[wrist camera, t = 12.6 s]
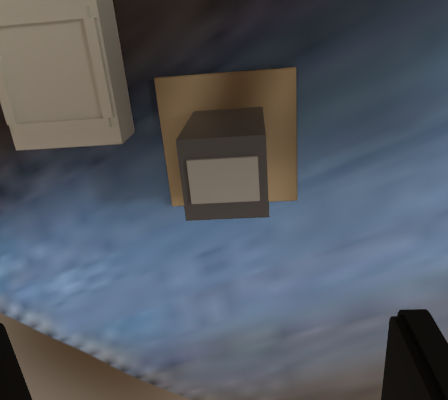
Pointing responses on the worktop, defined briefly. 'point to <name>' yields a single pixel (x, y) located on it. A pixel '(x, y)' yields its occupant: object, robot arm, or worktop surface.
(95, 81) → the power strip
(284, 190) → the coaster
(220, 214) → the block
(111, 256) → the worktop surface
